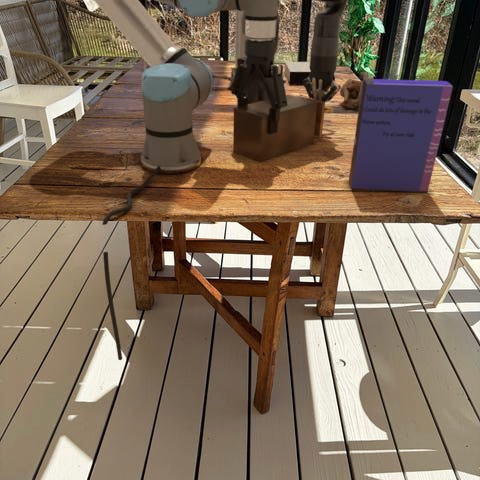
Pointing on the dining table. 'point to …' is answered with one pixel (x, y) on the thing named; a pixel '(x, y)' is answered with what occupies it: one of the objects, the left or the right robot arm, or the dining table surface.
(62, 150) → the dining table surface
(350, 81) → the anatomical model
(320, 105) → the drawer
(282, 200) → the dining table surface
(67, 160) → the dining table surface
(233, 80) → the figurine
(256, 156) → the cabinet
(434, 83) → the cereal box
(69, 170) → the dining table surface
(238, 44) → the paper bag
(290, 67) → the disc drive
